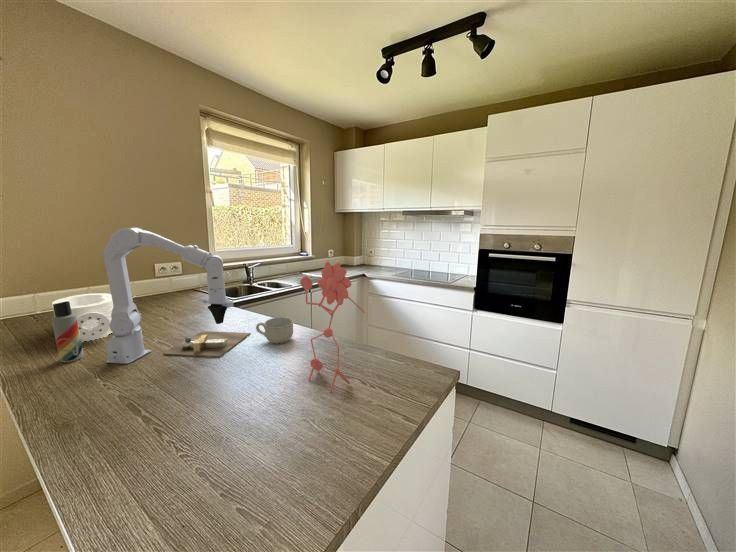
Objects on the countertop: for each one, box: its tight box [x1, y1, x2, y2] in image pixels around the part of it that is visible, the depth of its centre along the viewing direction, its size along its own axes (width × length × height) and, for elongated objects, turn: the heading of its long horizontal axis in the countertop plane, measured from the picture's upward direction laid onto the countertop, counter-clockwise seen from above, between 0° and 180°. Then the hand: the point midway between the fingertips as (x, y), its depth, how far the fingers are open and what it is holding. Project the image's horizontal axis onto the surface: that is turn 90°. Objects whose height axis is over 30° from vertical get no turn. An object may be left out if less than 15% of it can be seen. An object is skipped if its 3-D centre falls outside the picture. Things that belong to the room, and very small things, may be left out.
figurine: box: [299, 261, 366, 401], centre depth 85 cm, size 15×26×35 cm, turn 51°
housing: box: [51, 292, 114, 343], centre depth 123 cm, size 35×22×14 cm, turn 47°
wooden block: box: [181, 336, 227, 349], centre depth 106 cm, size 15×4×3 cm, turn 94°
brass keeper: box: [193, 335, 208, 353], centre depth 105 cm, size 2×8×4 cm, turn 7°
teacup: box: [255, 316, 294, 345], centre depth 113 cm, size 14×11×8 cm
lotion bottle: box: [51, 301, 84, 364], centre depth 97 cm, size 6×6×20 cm
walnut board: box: [162, 330, 251, 358], centre depth 111 cm, size 21×21×1 cm
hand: (219, 323), depth 110 cm, fingers closed
